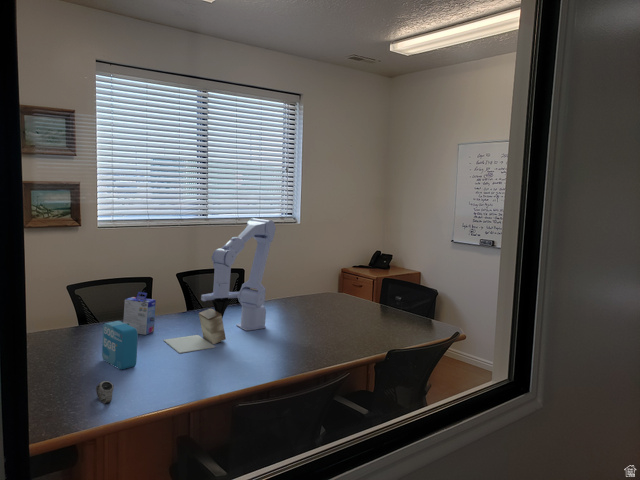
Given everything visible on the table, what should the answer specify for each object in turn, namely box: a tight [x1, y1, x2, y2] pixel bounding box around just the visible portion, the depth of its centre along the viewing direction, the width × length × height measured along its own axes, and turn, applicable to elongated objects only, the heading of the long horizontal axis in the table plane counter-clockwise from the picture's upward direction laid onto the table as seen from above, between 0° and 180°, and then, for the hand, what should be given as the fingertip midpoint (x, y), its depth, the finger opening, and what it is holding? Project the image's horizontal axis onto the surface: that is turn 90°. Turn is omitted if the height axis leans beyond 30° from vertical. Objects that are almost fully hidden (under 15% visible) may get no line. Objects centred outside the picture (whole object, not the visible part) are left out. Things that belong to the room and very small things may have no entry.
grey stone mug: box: [95, 380, 115, 404], centre depth 119 cm, size 4×6×5 cm, turn 48°
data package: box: [101, 320, 139, 371], centre depth 142 cm, size 12×4×12 cm, turn 53°
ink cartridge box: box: [123, 291, 157, 336], centre depth 172 cm, size 10×6×14 cm, turn 78°
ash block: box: [198, 308, 227, 346], centre depth 169 cm, size 5×8×10 cm, turn 39°
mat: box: [163, 334, 216, 354], centre depth 164 cm, size 13×14×1 cm
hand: (219, 318), depth 171 cm, fingers closed
